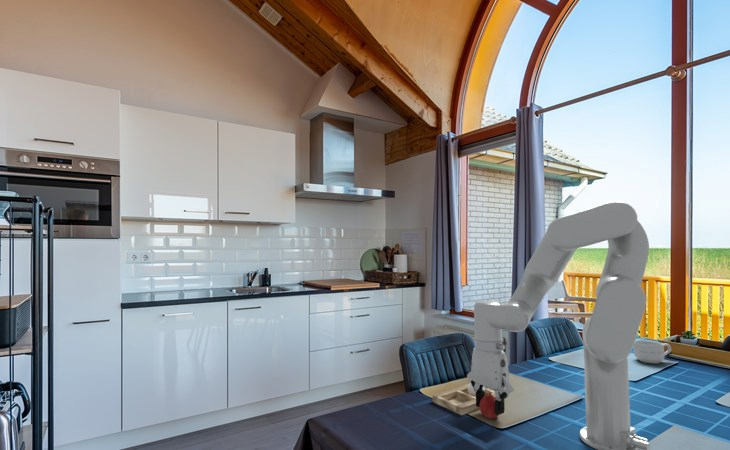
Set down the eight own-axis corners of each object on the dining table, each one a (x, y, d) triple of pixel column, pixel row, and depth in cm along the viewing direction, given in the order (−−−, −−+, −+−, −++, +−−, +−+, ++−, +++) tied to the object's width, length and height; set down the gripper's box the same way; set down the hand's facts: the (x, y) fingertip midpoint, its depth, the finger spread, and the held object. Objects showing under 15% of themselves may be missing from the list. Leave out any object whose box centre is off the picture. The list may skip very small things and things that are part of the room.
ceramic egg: (488, 398, 125) (488, 381, 125) (477, 402, 122) (477, 385, 122) (475, 393, 129) (475, 377, 129) (464, 397, 126) (464, 380, 126)
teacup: (638, 364, 161) (637, 344, 162) (629, 357, 172) (628, 338, 172) (679, 367, 157) (678, 346, 157) (667, 359, 167) (666, 340, 168)
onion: (475, 418, 114) (474, 390, 114) (490, 414, 116) (490, 386, 116) (489, 426, 108) (488, 397, 109) (505, 422, 111) (504, 393, 111)
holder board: (502, 404, 123) (501, 394, 123) (462, 419, 113) (461, 408, 113) (471, 392, 133) (471, 382, 133) (432, 405, 123) (432, 395, 123)
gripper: (523, 349, 108) (525, 417, 107) (473, 337, 122) (474, 397, 122) (506, 354, 104) (507, 424, 103) (456, 341, 118) (457, 402, 117)
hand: (489, 409), depth 112 cm, fingers closed on onion, 5 cm apart
